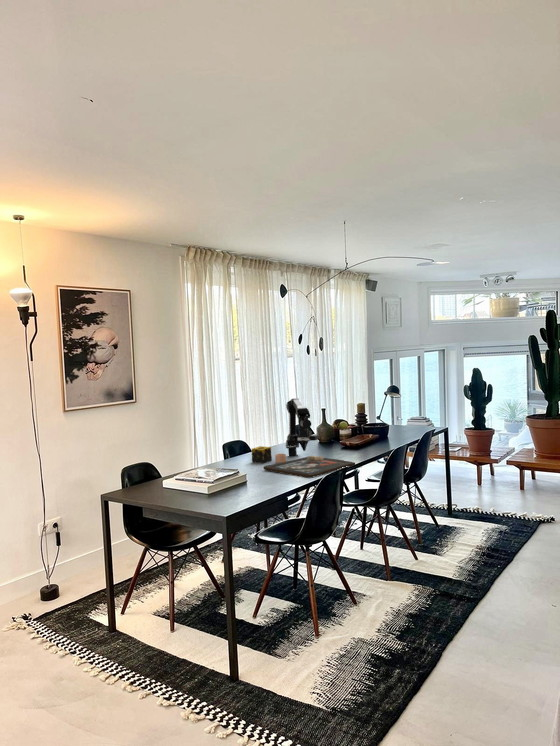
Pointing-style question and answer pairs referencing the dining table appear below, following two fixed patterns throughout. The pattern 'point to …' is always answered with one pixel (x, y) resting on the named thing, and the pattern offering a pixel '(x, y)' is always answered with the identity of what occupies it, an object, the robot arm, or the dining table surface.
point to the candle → (261, 454)
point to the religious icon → (308, 466)
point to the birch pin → (315, 458)
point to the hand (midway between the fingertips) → (304, 450)
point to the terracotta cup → (280, 458)
